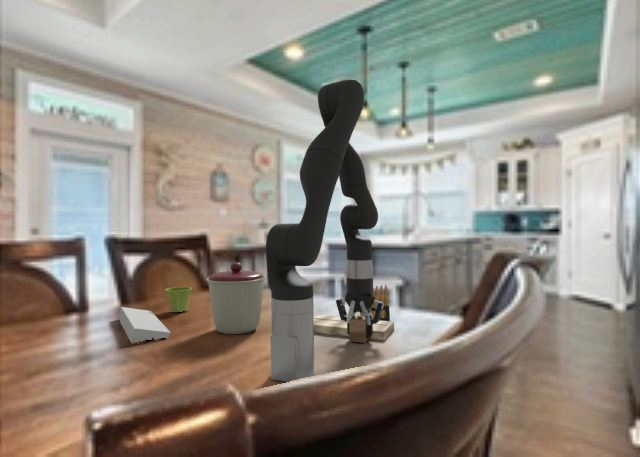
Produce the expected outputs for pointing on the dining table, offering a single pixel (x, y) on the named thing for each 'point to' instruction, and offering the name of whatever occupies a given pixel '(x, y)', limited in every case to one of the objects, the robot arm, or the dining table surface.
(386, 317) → the ammunition clip
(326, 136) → the robot arm
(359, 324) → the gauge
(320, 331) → the board
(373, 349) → the dining table surface
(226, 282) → the canister
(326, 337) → the dining table surface
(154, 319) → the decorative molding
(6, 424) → the dining table surface
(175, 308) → the plant pot
